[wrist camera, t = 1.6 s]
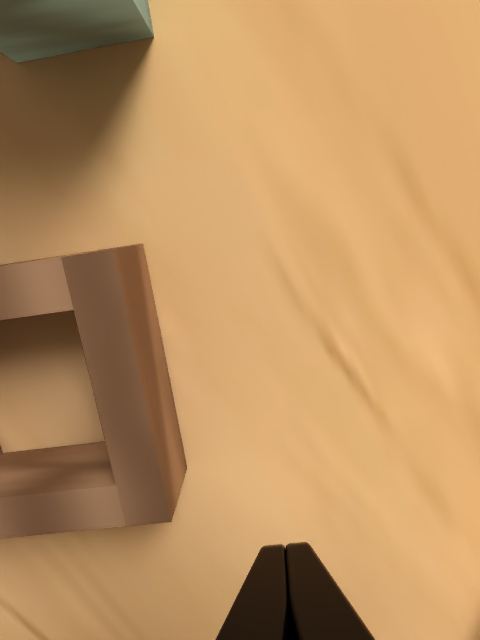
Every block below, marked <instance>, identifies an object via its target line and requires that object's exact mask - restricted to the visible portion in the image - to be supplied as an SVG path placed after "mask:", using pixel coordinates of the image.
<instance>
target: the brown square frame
mask: <svg viewBox="0 0 480 640" xmlns="http://www.w3.org/2000/svg"><path fill="white" fill-rule="evenodd" d="M70 310H74V314H75V318H76V322H77V326H78V330H79V334H80V338H81V343H82V347H83V351H84V355H85V359H86V363H87V367H88V372H89V376H90V380H91V384H92V388H93V392H94V396H95V400H96V405H97V409H98V413H99V417H100V421H101V425H102V429H103V434H104V438H105V442H98V443H89V444H80V445H71V446H62V447H53V448H45V449H36V450H27V451H18V452H9V453H2V451H1V448H0V538H10V537H20V536H30V535H41V534H51V533H61V532H72V531H82V530H93V529H103V528H113V527H124V526H134V525H144V524H155V523H165V522H171V521H172V518H173V514H174V511H175V507H176V504H177V501H178V497H179V494H180V490H181V487H182V484H183V480H184V477H185V473H186V470H187V465H186V460H185V455H184V450H183V445H182V439H181V434H180V429H179V424H178V419H177V414H176V409H175V404H174V399H173V394H172V389H171V383H170V378H169V373H168V368H167V363H166V358H165V353H164V348H163V343H162V338H161V333H160V328H159V322H158V317H157V312H156V307H155V302H154V297H153V292H152V287H151V282H150V277H149V272H148V266H147V261H146V256H145V251H144V246H143V244H137V245H131V246H124V247H117V248H111V249H104V250H97V251H91V252H84V253H78V254H71V255H64V256H58V257H51V258H44V259H38V260H31V261H24V262H18V263H11V264H4V265H0V320H5V319H12V318H19V317H27V316H34V315H41V314H48V313H55V312H62V311H70Z"/></svg>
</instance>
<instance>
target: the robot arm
mask: <svg viewBox="0 0 480 640" xmlns="http://www.w3.org/2000/svg"><path fill="white" fill-rule="evenodd" d="M216 640H375V639H374V637H373V636H372V634H371V633H370V631H369V630H368V628H367V627H366V625H365V624H364V623H363V621H362V620H361V618H360V617H359V615H358V614H357V612H356V611H355V610H354V608H353V607H352V605H351V604H350V602H349V601H348V599H347V598H346V596H345V595H344V594H343V592H342V591H341V589H340V588H339V586H338V585H337V583H336V582H335V580H334V579H333V578H332V576H331V575H330V573H329V572H328V570H327V569H326V567H325V566H324V565H323V563H322V562H321V560H320V559H319V557H318V556H317V554H316V553H315V551H314V550H313V549H312V547H311V546H310V545H309V544H308V543H307V542H301V543H290V544H287V545H286V549H285V547H284V545H282V544H279V545H267V546H263V547H262V548H261V550H260V551H259V553H258V555H257V557H256V559H255V561H254V563H253V565H252V567H251V569H250V571H249V573H248V575H247V577H246V579H245V581H244V583H243V585H242V587H241V589H240V591H239V593H238V595H237V597H236V599H235V601H234V604H233V606H232V608H231V610H230V612H229V614H228V616H227V618H226V620H225V622H224V624H223V626H222V628H221V630H220V632H219V634H218V636H217V638H216Z"/></svg>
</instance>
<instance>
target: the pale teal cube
mask: <svg viewBox="0 0 480 640" xmlns="http://www.w3.org/2000/svg"><path fill="white" fill-rule="evenodd" d="M151 37H154V33H153V28H152V22H151V16H150V10H149V4H148V0H0V52H1V53H2V54H4V55H5V56H7V57H8V58H10V59H11V60H13V61H15V62H16V63H19V62H25V61H30V60H35V59H41V58H46V57H51V56H56V55H62V54H67V53H72V52H78V51H83V50H88V49H93V48H99V47H104V46H109V45H114V44H120V43H125V42H130V41H136V40H141V39H146V38H151Z"/></svg>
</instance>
